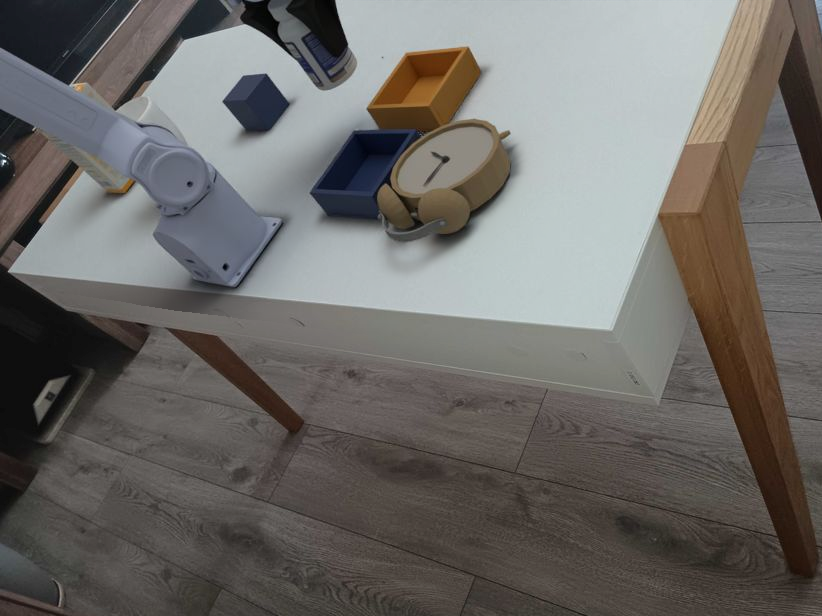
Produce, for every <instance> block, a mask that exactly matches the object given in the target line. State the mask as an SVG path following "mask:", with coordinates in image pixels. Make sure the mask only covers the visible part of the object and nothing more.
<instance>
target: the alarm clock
mask: <svg viewBox="0 0 822 616" xmlns="http://www.w3.org/2000/svg"><path fill="white" fill-rule="evenodd" d="M510 135H511V131H510V130H509V129H508V130H505V131H502V132H500V133H499V131H498V129H497V127H496V126H495V125H494V124H493V123H491V122H489V121H487V120H485V119H484V120H483V119H477V118H469V119H461V120H456V121H454V122H449V123H448V124H446V125H443V126H441V127H439V128H437V129H435V130H433V131H428V132H427V133H426V134H424V135H423V136H421V138H420V139H419V140H417V141H416V142H414V143H413V144H412V145H411V146H410V147H409V148H408V149H407V150H406V151H405V152H404V153H403V154H402V155H401V156H400V158H399V159H398V161H397V162H396V164H395V165H394V167H393V170H392V174H391V178H390V179H391V184H392V188H393V190H394V191H395V192H396V194H397V195H398V196H397V195H396V194H395V192H394V191H393V190H392V189H391V188H390V187H389V186H388V185H387V184H384V185H383V186H382V187H381V188H380V190H379V192H378V195H377V201H378V206H379V208H380V210H379V212H380V214H379V215H378V219H377V220H379V221H381V225H382V229H383V230H384V232H385V233H386V235H387V236H388V237H389V238H390V239H391V240H393V241H395V242H400V243H408V242H414V241H417V240H420V239H423V238H425V237H427V236H428V235H430V234H432V233H436V234H441V235H448V234H449V235H450V234H455V233H456V232H459V231H460V230H461V229H462V228H464V227H465V225H466V223H467V221H468V220H469V218H470V213H471V212H473V211H475V210H476V209H478V208H479V207H481V206H482V205H483V204H485V203H486V202H488V201H489V200H490V199H492V198H493V197H494V195H495V194H496V193H497V192H498V191H499V190H501V188H502V187H503V186H504V185H505V184H504V183H505V182H506V180H507V179H508V178H507V177H508V176H509V174H510V172H511V162H512V160H511V159H510V158H511V157H510V156H509V154H508V152H507V150H506V149H505V146H504V143H503V142H502V141H503V140H505V139H506V138H508V137H509V136H510ZM398 197H399V198H398ZM381 212H382V213H381ZM385 218H386V219H387V220H386V219H385ZM414 220H417V221H420V222H421V223H422V224H423V226H421V227H418V228H416V229H412V230H409V231H403V232H400V231H398V232H397V231H394V230H391V229H389V228H390V227H389V225H392V226H394V227H396V228H398V229H401V230H402V229H404V230H405V229H409V228H412V227H415V221H414Z"/></svg>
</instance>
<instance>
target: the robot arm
mask: <svg viewBox="0 0 822 616" xmlns="http://www.w3.org/2000/svg"><path fill="white" fill-rule="evenodd" d="M270 1H271V0H227V2H228V3H229V4H230V6H231V7H232V8H234V7H238V6H240V5H241V3H243V5H244V6H243V8H244V10H243V12H242V13H240V15H239V20H240V21H241V22H242V24H244V25H246V26H248V27H251V28H253V29H255V30H256V31H257V32H259V33H261V34H262V35H264V36H265V37H267V38H269V39H270V40H271V41H273V42H274V43H275V44H276V45H277V46H279V47H280V48H281V49H282V50H283V51H285V52H286V53H287V54H288V55H289V56H290V57H291V58H292V59H294V60H295V61H296V62H297V60H296V59H295V57H294V56H293V55H292V53H291V52H290V51H289V49H288V48H287V46H286V45H285V44H284V42H283V41H282V40H281V38H280V36H279V34H278V26H279V23H280V21H277V20H276V19H274V17H273V16H272V14H271V12H270V11H269V9H268V4H269V2H270ZM286 11H287V12H288V13H289V14H291V15H293V16H294V17H296V18H297V19H298V20H300V21H301V22H302V23H303V24H305V25H306V26H307V27H308V28H309V29H310V30H311V31H312V32H313V33H314V35H315V36H316V37H317V38H318V39H319V41H320V42H321V43H322V45H323V46H324V47H325V48H326V50H327V51H328V52H329V53H330V54H331V55H332V56H333V57H335V58H337V57H340V56H341V54H342V53H343V52H344V50H345V49H346V48H347V46H348V47H349V41H348V39H347V36H346V33H345V30H344V27H343V25H342V21H341V18H340V15H339V11H338V7H337V1H336V0H292V1H291V3H290V4H289V5H288V6H287V7H286ZM0 110H2V111H4V112H5V113H7V114H9V115H11V116H13V117H16V118H18V119H19V120H21V121H24V122H26V123H27V124H29V125H31V126H33V127H34V126H35V127H37V128H39V129H41V130H43V131H45V132H47V133H49V134H51V135H53V136H55V137H57V138H59V139H61V140H63V141H65V142H67V143H69V144H71V145H73V146H75V147H77V148H79V149H81V150H83V151H85V152H87V153H89V154H91V155H93V156H95V157H97V158H98V159H100V160H101V161H103V162H104V163H106V164H108V165H109V166H111V167H112V168H114V169H115V170H117V171H118V172H120V173H121V174H123V175H124V176H126V177H128V178H130V179H132V180H134V182H136V183H137V184H138V185H140V186H141V187H142V189H144V191H145V192H146V194H147V196H149V197H150V199H151V200H152V201H154V202H155V208H156V209H157V210H158V212H159V213H160V215H159V219H158V222H157V225H156V227H155V229H154V230H153V231H152V236H153V238H154V240H155V241H156V243H157V244H158V245H159V246H160V247H161V248H162V249H163V250H164V251H165V252H166V253H168V254H169V255H170V256H171V258H173V259H175V261H176V262H177V263H179V264H180V265H181V266H182V267H183V268H184V269H186V270H187V272H189V273H190V274H191V275H192V278H193V280H195V281H199V282H203V283H210V284H215V285H219V286H225V287H230V288H236V287H237V286H239V284H240V282H241V281H242V280H243V278H244V277H245V276H246V275H247V273H248V272H249V270H250V269H251V267H252V266H253V265H254V263H255V262H256V260H257V259H258V258H259V256H260V254H261V253H262V252H263V251H264V249H265V248H266V246H267V245H268V244H269V242H270V241H271V240H272V238H273V237H274V235H275V234H276V233H277V231H278V230H279V228H280V227H281V225H282V224H283V220H282V218H280V217H272V216H262V215H259V214H258V213H257V212H256V211H255V210H254V209H253V208H252V207H251V205H250V204H249V203H248V202H247V201H246V200H245V198H243V197H242V196H241V194H240V193H239V192H238V191H237V190H236V189H235V188H234V186H232V185H231V184H230V183H229V181H228V180H227V179H226V178H225V177H224V176H223V175H222V174H221V173H220V172H219V171H218V169H216V168H215V167H214V165H213V164H212V163H211V162H208V161H206V160H205V158H204V157H203V156H202V155H201V153H200V152H198V150H196V149H195V148H193V147H191V146H189V145H188V146H187V145H185V144H184V143H183V142H182V141H180V140H179V139H178V138H177V137H176V136H175V135H174V134H173V133H172V132H171V131H170V130H169V129H167V128H165V127H163V126H161V125H157V124H150V123H140V122H137V121H134V120H132V119H130V118H128V117H127V116H125V115H123V114H121V113H118V112H116V110H115V111H113V110H111V109H109V108H107V107H106V106H104V105H102V104H100V103H98V102H97V101H95V100H93V99H91V98H89V97H88V96H86V95H84V94H82V93H80V92H79V91H77V90H75V89H73V88H72V87H70V85H68V84H66V83H65V82H63V81H61V80H59V79H57V78H55V77H54V76H52V75H51V74H48V73H46V72H45V71H44V70H41V69H39V68H38V67H36V66H34V65H32V64H30V63H29V62H27V61H26V60H23V59H21V58H19V57H18V56H16V55H14V54H13V53H11V52H9V51H7V50H6V49H3V48H2V47H0ZM35 127H34V128H35Z"/></svg>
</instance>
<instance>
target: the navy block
mask: <svg viewBox="0 0 822 616" xmlns="http://www.w3.org/2000/svg"><path fill="white" fill-rule="evenodd" d="M221 102H222V104H223V105H224V106H225V107H226V108H227V109H228V111H229V112H230V113H231V114H232V115H233V117H234V118H235V119H236V120H237V121H238V123H239V124H240V125H241V126H242V127H243V128H244V130H245V131H246V132H247V131H248V132H249V131H250V132H251V131H252V132H253V131H270V130H271V129H272V128H273V126H274V125H275V124H276V122H277V121H278V120H279V118H280V117H281V116H282V115H283V113H284V112H285V111H286V110H287V108H288V106H290V102H289V101H288V100H287V98H286V97H285V96H284V95H283V93H282V92H281V90H280V89H279V88H278V87H277V85H276V84H275V83H274V81H273V80H272V79H271V77H270V76H269V74H268V73H256V74H246V75H245V74H244V75H242V76H241V77H240V79H239V80H238V81H237V83H236V84H235V85H234V86H233V87H232V88H231V90H230V91H229V92H228V94H226V96H225V97H224V99H222V101H221Z"/></svg>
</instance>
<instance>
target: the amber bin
mask: <svg viewBox="0 0 822 616" xmlns="http://www.w3.org/2000/svg"><path fill="white" fill-rule="evenodd" d="M481 74H482V69H481V68H480V66H479V64H478V62H477V60H476V58H475V56H474V54H473V52H472V51H471V48H470V46H458V47H449V48H438V49H429V50H419V51H409V52H405V53H404V55H403V56H402V57H401V59H400V61H398V63H397V65H396V66H395V67H394V69H393V70H392V72H391V73H390V74H389V76H388V77H387V79H386V80H385V81H384V83H383V84H382V86H381V87H380V88H379V90H378V91H377V92H376V94H375V95H374V97H373V98H372V100H371V101H370V102H369V104H368V105H367V106H366V108H365V109H366V111H367V112H368V114H369V116H370V117H371V118H372V120H373V122H374V123H375V124H376V126H377V127H378V130H394V129H417V130H418V132H431V131H433V130H435V129H437V128H439V127H441V126H443V125H446V124H450V123H451V120H452V118H453V117H454V115H455V114H456V112H457V111H458V109H459V108H460V107H461V105H462V103H463V102H464V100H465V99H466V97H467V95H468V94H469V92H471V89H472V88H473V86H475V83H476V81H477V80H478V78H479V77H480V76H481Z"/></svg>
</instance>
